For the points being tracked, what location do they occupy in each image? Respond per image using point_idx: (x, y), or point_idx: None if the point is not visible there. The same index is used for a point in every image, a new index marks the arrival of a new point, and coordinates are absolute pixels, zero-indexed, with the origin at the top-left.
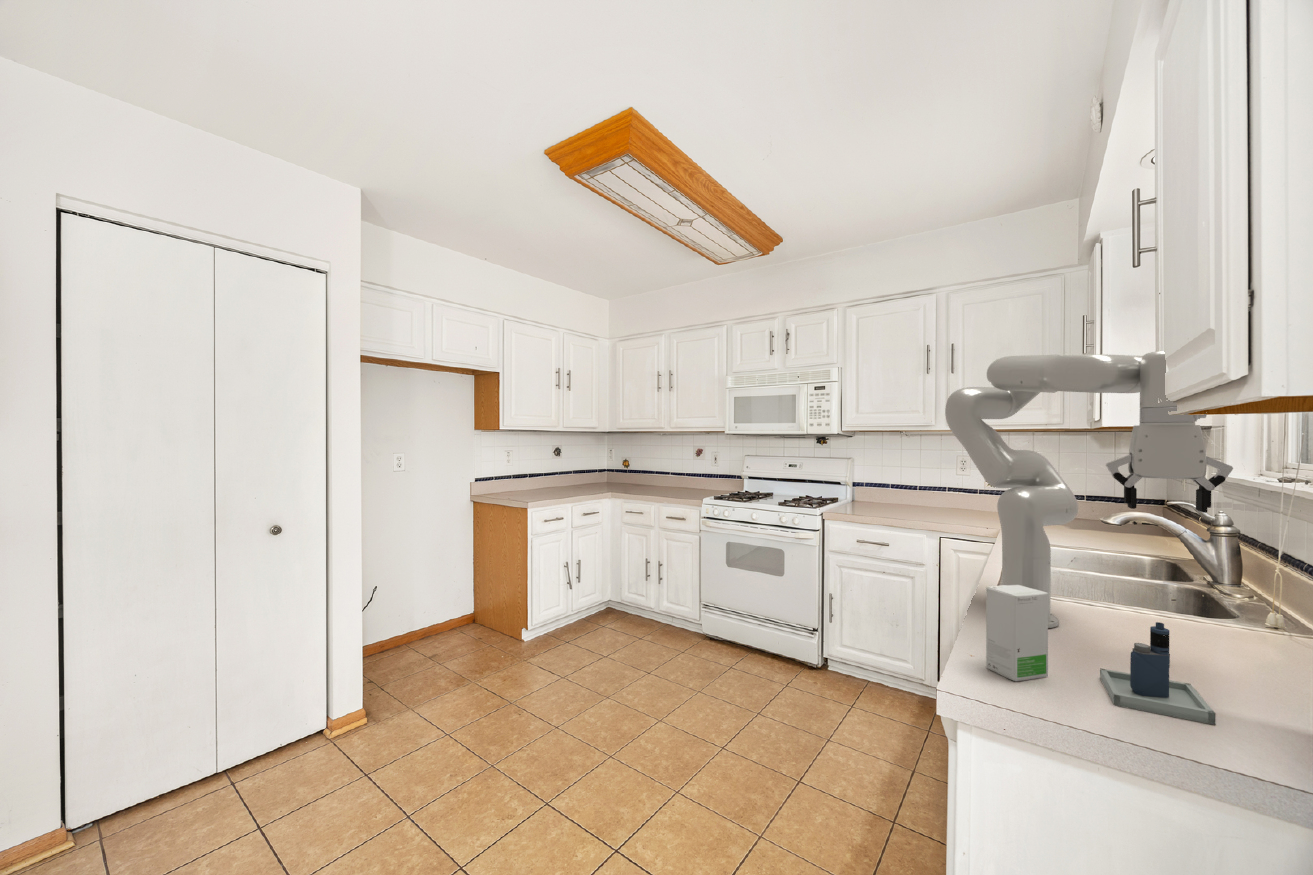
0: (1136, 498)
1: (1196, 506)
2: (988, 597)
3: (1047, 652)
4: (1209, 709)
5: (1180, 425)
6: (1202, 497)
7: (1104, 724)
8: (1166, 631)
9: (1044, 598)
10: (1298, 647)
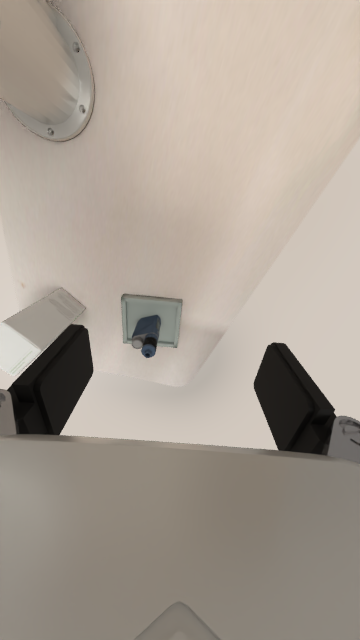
0: (78, 399)
1: (271, 356)
2: None
3: (75, 318)
4: (175, 343)
5: None
6: (271, 428)
7: (116, 364)
8: (151, 356)
9: (41, 351)
10: None
